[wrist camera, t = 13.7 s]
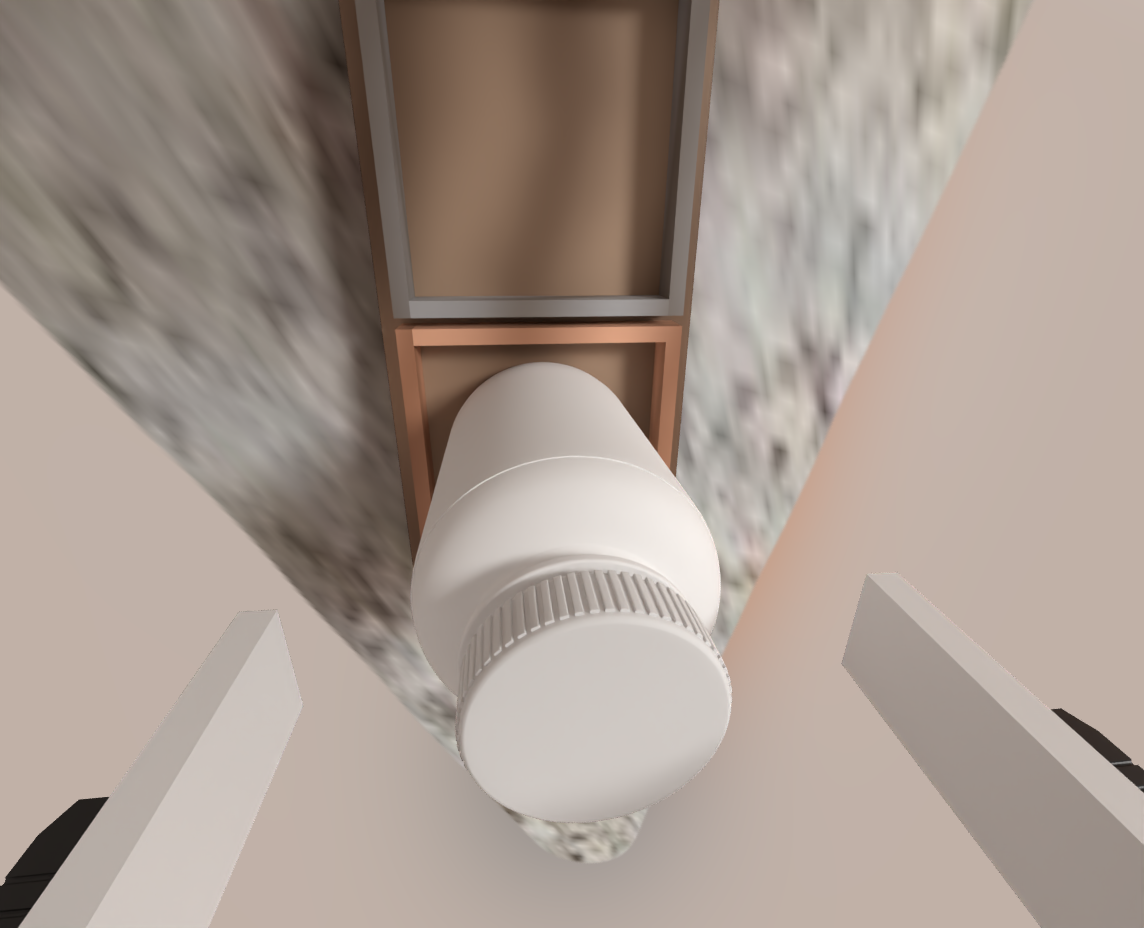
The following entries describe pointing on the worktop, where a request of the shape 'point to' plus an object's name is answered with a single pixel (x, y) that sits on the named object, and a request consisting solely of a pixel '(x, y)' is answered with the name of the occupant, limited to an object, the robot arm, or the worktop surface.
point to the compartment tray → (530, 200)
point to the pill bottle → (569, 602)
